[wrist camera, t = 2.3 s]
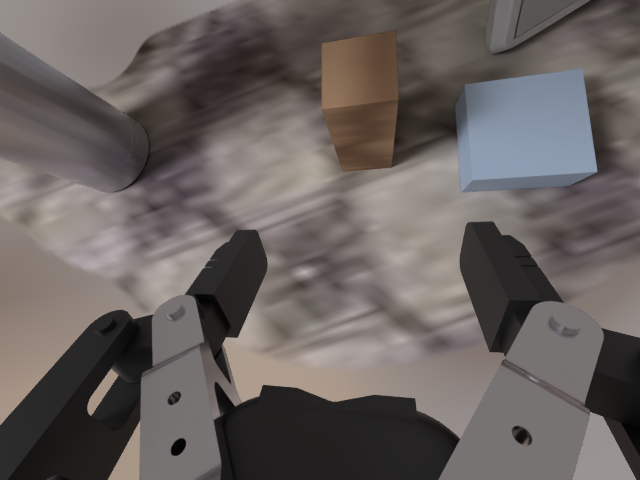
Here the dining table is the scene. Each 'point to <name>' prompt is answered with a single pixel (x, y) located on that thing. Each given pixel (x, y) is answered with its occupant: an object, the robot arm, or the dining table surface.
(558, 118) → the pedestal
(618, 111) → the dining table surface
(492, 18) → the digital clock
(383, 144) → the walnut pillar
